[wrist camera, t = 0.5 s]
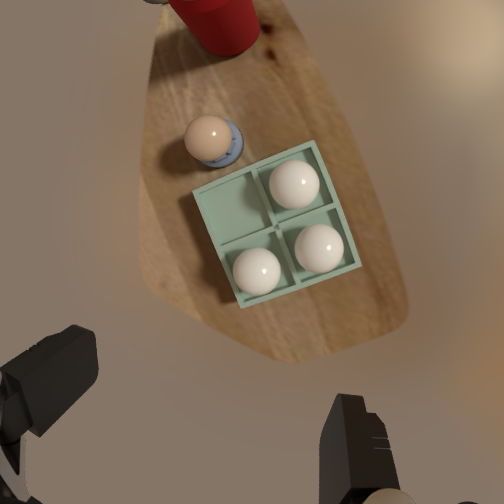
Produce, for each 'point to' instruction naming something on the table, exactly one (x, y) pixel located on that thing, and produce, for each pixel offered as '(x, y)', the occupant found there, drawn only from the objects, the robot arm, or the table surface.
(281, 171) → the white egg
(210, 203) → the egg carton
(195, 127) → the brown egg
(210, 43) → the beverage can
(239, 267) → the white egg
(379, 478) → the robot arm
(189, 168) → the table surface
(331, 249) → the white egg
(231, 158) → the egg cup
